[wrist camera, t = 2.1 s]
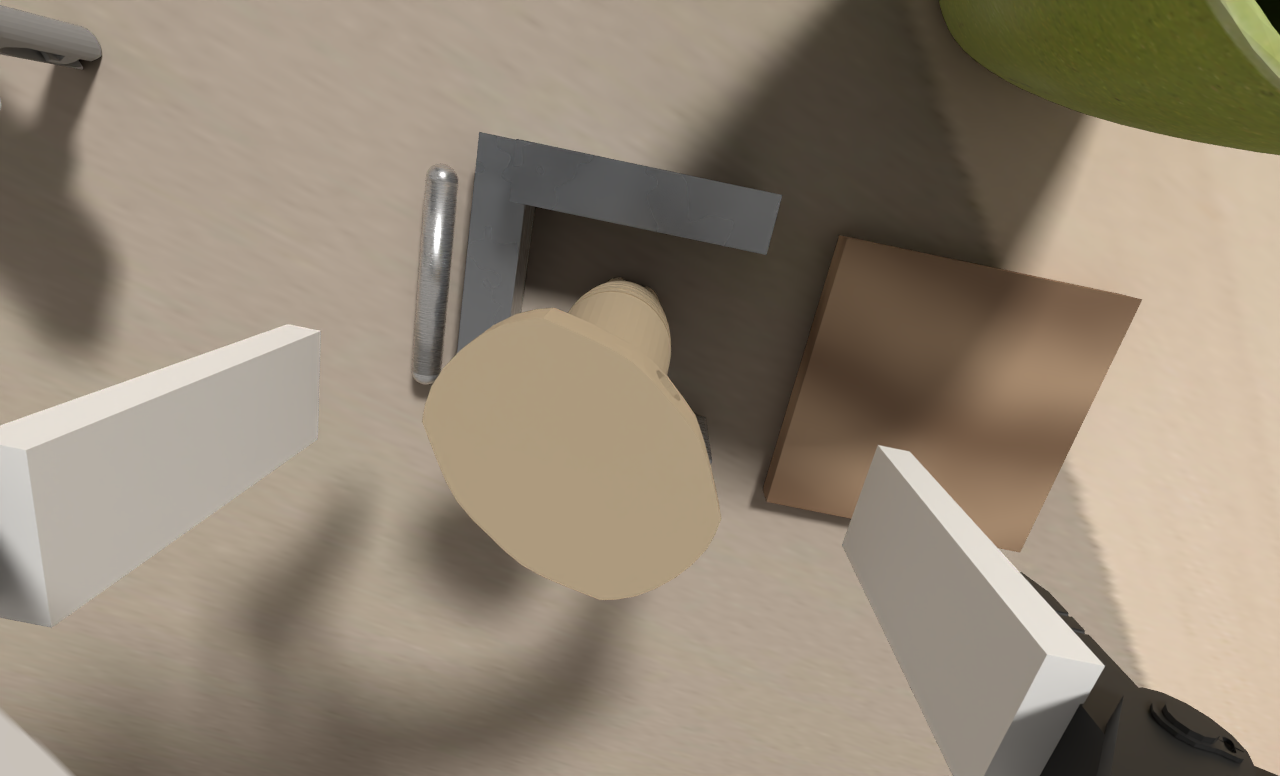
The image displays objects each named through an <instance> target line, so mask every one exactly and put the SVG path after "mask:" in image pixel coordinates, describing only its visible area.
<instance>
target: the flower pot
mask: <svg viewBox="0 0 1280 776" xmlns="http://www.w3.org/2000/svg"><path fill="white" fill-rule="evenodd" d="M939 3H940V7H941V11H942V14H943V17H944V19H945V22H946V24H947V27H948V29H949V31H950V32H951V34H952V36H953V37H954V39H955V40H956V41H957V43H958V44H959V45H960V46H961V47H962V49H963V50H964V51H965V52H966V53H967V54H968V55H970V56H971V57H972V58H973V59H974V60H975V61H977V62H978V63H979V64H981V65H982V66H984V67H985V68H987V69H988V70H990V71H991V72H993V73H994V74H996V75H997V76H999V77H1001V78H1002V79H1004V80H1006V81H1008V82H1010V83H1011V84H1013V85H1015V86H1017V87H1019V88H1021V89H1023V90H1026V91H1028V92H1030V93H1032V94H1035V95H1037V96H1039V97H1042V98H1044V99H1046V100H1048V101H1051V102H1054V103H1056V104H1059V105H1061V106H1064V107H1067V108H1069V109H1072V110H1075V111H1078V112H1081V113H1084V114H1087V115H1090V116H1093V117H1097V118H1100V119H1104V120H1107V121H1111V122H1114V123H1118V124H1121V125H1125V126H1129V127H1134V128H1138V129H1142V130H1146V131H1150V132H1154V133H1159V134H1163V135H1167V136H1172V137H1177V138H1182V139H1186V140H1191V141H1196V142H1202V143H1207V144H1213V145H1219V146H1224V147H1230V148H1236V149H1242V150H1248V151H1253V152H1260V153H1268V154H1275V155H1280V0H939Z"/></svg>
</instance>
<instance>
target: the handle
mask: <svg viewBox="0 0 1280 776" xmlns="http://www.w3.org/2000/svg"><path fill="white" fill-rule="evenodd" d="M670 358H671V336H670V330H669V325H668V322H667V318H666V315H665V313H664V310H663V308H662V306H661V304H660V303H659V299H658V296H657V294H656V293H655V292H654V291H653V290H652V289H651V288H650V287H642V286H640V285H639V284H636V283H633V282H628V281H624V280H623V278H620V277H619V278H613V279H610V280H609V281H608V282H607V283H604V284H601V285H599V286H597V287H595V288H593V289H591V290H590V291H589V292H587V293H586V294H584V295H583V296H582V297H581V298H580V299H579V300H578V301H577V302H576V303H575V304H574V305H573V306H572V308H571V309H570V311H569V312H568V313H566V312H563V311H561V310H558V309H556V308H546V309H535V310H531V311H527V312H523V313H518V314H515V315H513V316H511V317H509V318H507V319H505V320H503V321H501V322H499V323H497V324H495V325H493V326H492V327H490V328H489V329H488V330H486V331H485V332H484V333H482V334H481V335H479V336H478V337H477V338H475V339H474V340H473V341H471V342H470V343H469V344H467V345H466V346H465V347H464V348H463V349H461V350H460V351H459V352H458V353H457V354H456V355H455V356H454V357H453V358H452V360H451V361H450V362H449V363H448V364H447V365H446V366H445V367H444V368H443V369H442V371H441V373H440V374H439V376H438V377H437V379H436V380H435V382H434V383H433V385H432V386H431V389H430V392H429V395H428V398H427V401H426V403H425V408H424V414H423V419H422V422H423V425H424V428H425V430H426V433H427V436H428V438H429V441H430V443H431V446H432V449H433V451H434V454H435V456H436V459H437V461H438V464H439V466H440V469H441V471H442V473H443V476H444V478H445V481H446V483H447V484H448V486H449V488H450V490H451V492H452V493H453V495H454V497H455V499H456V501H457V502H458V503H459V504H460V506H461V507H462V508H463V509H464V510H465V512H466V513H467V514H468V515H469V516H470V517H471V519H472V520H473V521H474V522H475V523H476V524H477V525H478V526H479V527H481V528H482V529H483V530H484V531H485V532H486V533H487V534H488V535H489V536H490V537H491V538H492V539H493V540H494V541H495V542H496V543H497V544H498V545H499V546H500V547H501V548H502V549H503V550H504V551H505V552H506V553H507V554H509V555H510V556H511V557H512V558H514V559H515V560H516V561H517V562H519V563H520V564H521V565H522V566H524V567H526V568H528V569H529V570H531V571H533V572H535V573H537V574H539V575H540V576H542V577H544V578H547V579H549V580H551V581H554V582H556V583H559V584H561V585H563V586H566V587H568V588H571V589H573V590H576V591H578V592H581V593H583V594H586V595H588V596H591V597H593V598H596V599H598V600H615V599H623V598H628V597H634V596H638V595H640V594H643V593H646V592H648V591H651V590H654V589H656V588H658V587H660V586H661V585H663V584H665V583H667V582H669V581H670V580H672V579H674V578H676V577H677V576H678V575H679V574H681V573H682V572H683V571H685V570H686V569H687V568H688V567H690V566H691V565H692V564H693V563H694V562H695V561H696V560H697V559H698V558H699V557H700V556H701V555H702V554H703V552H704V551H705V550H706V549H707V548H708V546H709V544H710V542H711V541H712V539H713V537H714V535H715V533H716V531H717V528H718V526H719V523H720V521H721V514H720V507H719V502H718V497H717V492H716V487H715V483H714V478H713V474H712V470H711V465H710V461H709V457H708V453H707V450H706V446H705V442H704V439H703V436H702V433H701V430H700V427H699V424H698V421H697V418H696V416H695V414H694V413H693V411H692V410H691V408H690V407H689V405H688V404H687V402H686V401H685V399H684V398H683V396H682V395H681V394H680V393H679V391H678V390H677V388H676V387H675V386H674V384H673V383H672V382H671V380H670V379H669V377H668V376H667V373H668V368H669V364H670Z"/></svg>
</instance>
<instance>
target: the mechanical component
mask: <svg viewBox="0 0 1280 776" xmlns="http://www.w3.org/2000/svg"><path fill="white" fill-rule="evenodd" d="M0 54H2V55H7V56H13V57H18V58H23V59H28V60H34V61H39V62H44V63H50V64H55V65H60V66H65V67H71V68H76V69H81V70H83V67H82V65H81V64H80V62H79V61H78V60H79V59H83V60H87V61H93V60H96V59H98V58H99V57H101V48H100V45H99V42H98V41H97V39H96V37H95V36H94V35H93V34H92V33H91V32H90V31H89V30H88V29H86V28H84V27H82V26H78V25H74V24H70V23H66V22H62V21H59V20H55V19H51V18H47V17H43V16H40V15H36V14H32V13H28V12H24V11H21V10H17V9H13V8H9V7H5V6H2V5H0ZM0 110H1V99H0Z"/></svg>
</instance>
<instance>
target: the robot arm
mask: <svg viewBox="0 0 1280 776" xmlns="http://www.w3.org/2000/svg"><path fill="white" fill-rule="evenodd" d="M320 343H321V331H319V330H314V329H309V328H304V327H299V326H294V325H289V324H287V325H284V326H281V327H278V328H275V329H273V330H270V331H267V332H264V333H261V334H258V335H256V336H253V337H250V338H247V339H244V340H241V341H239V342H236V343H233V344H230V345H227V346H224V347H221V348H219V349H216V350H213V351H210V352H207V353H204V354H202V355H199V356H196V357H193V358H190V359H187V360H185V361H182V362H179V363H176V364H173V365H170V366H168V367H165V368H162V369H159V370H156V371H153V372H150V373H148V374H145V375H142V376H139V377H136V378H133V379H131V380H128V381H125V382H122V383H119V384H116V385H114V386H111V387H108V388H105V389H102V390H99V391H96V392H94V393H91V394H88V395H85V396H82V397H79V398H77V399H74V400H71V401H68V402H65V403H62V404H60V405H57V406H54V407H51V408H48V409H45V410H43V411H40V412H37V413H34V414H31V415H28V416H25V417H23V418H20V419H17V420H14V421H11V422H8V423H6V424H3V425H0V618H5V619H10V620H15V621H20V622H26V623H31V624H36V625H41V626H46V627H51V628H52V627H53V626H55V625H56V624H57V623H59V622H60V621H62V620H63V619H64V618H66V617H67V616H69V615H70V614H72V613H73V612H74V611H76V610H77V609H79V608H80V607H81V606H83V605H84V604H86V603H87V602H88V601H90V600H91V599H93V598H94V597H96V596H97V595H98V594H100V593H101V592H103V591H104V590H105V589H107V588H108V587H110V586H111V585H112V584H114V583H115V582H117V581H118V580H120V579H121V578H122V577H124V576H125V575H127V574H128V573H129V572H131V571H132V570H134V569H135V568H137V567H138V566H139V565H141V564H142V563H144V562H145V561H146V560H148V559H149V558H151V557H152V556H153V555H155V554H156V553H158V552H159V551H161V550H162V549H163V548H165V547H166V546H168V545H169V544H170V543H172V542H173V541H175V540H176V539H178V538H179V537H180V536H182V535H183V534H185V533H186V532H187V531H189V530H190V529H192V528H193V527H194V526H196V525H197V524H199V523H200V522H202V521H203V520H204V519H206V518H207V517H209V516H210V515H211V514H213V513H214V512H216V511H217V510H218V509H220V508H221V507H223V506H224V505H226V504H227V503H228V502H230V501H231V500H233V499H234V498H235V497H237V496H238V495H240V494H241V493H243V492H244V491H245V490H247V489H248V488H250V487H251V486H252V485H254V484H255V483H257V482H258V481H259V480H261V479H262V478H264V477H265V476H267V475H268V474H269V473H271V472H272V471H274V470H275V469H276V468H278V467H279V466H281V465H282V464H283V463H285V462H286V461H288V460H289V459H291V458H292V457H293V456H295V455H296V454H298V453H299V452H300V451H302V450H303V449H305V448H306V447H308V446H309V445H310V444H312V443H313V442H315V441H316V440H317V439H318V415H319V379H320ZM842 546H843V548H844V550H845V552H846V554H847V557H848V559H849V561H850V563H851V565H852V567H853V569H854V571H855V573H856V575H857V577H858V579H859V581H860V584H861V586H862V588H863V590H864V592H865V594H866V596H867V598H868V600H869V602H870V604H871V606H872V609H873V611H874V613H875V615H876V617H877V619H878V621H879V623H880V625H881V627H882V629H883V631H884V634H885V636H886V638H887V640H888V642H889V644H890V646H891V648H892V650H893V652H894V654H895V656H896V659H897V661H898V663H899V665H900V667H901V669H902V671H903V673H904V675H905V677H906V679H907V681H908V683H909V686H910V688H911V690H912V692H913V694H914V696H915V698H916V700H917V702H918V704H919V706H920V708H921V711H922V713H923V715H924V717H925V719H926V721H927V723H928V725H929V727H930V729H931V731H932V733H933V736H934V738H935V740H936V742H937V744H938V746H939V748H940V750H941V752H942V754H943V756H944V758H945V761H946V763H947V765H948V767H949V769H950V771H951V773H952V775H953V776H1278V775H1275V774H1273V773H1270V772H1268V771H1265V770H1263V769H1261V768H1258V767H1256V766H1254V764H1253V762H1252V760H1251V758H1250V756H1249V754H1248V752H1247V751H1246V750H1245V749H1244V748H1243V747H1242V746H1241V745H1240V743H1239V742H1238V741H1237V740H1236V739H1235V738H1234V737H1233V736H1232V735H1231V734H1230V733H1228V732H1227V731H1226V730H1225V729H1223V728H1222V727H1221V726H1220V725H1218V724H1217V723H1216V722H1214V721H1213V720H1212V719H1211V718H1209V717H1208V716H1206V715H1204V714H1203V713H1201V712H1199V711H1198V710H1196V709H1194V708H1193V707H1191V706H1190V705H1188V704H1186V703H1184V702H1182V701H1180V700H1178V699H1175V698H1173V697H1171V696H1169V695H1167V694H1164V693H1162V692H1158V691H1154V690H1151V689H1147V688H1138V687H1137V686H1136V685H1135V684H1134V682H1133V681H1132V680H1131V679H1130V678H1129V677H1128V676H1127V675H1126V674H1125V673H1124V672H1123V671H1122V670H1121V669H1120V668H1119V666H1118V665H1117V664H1116V663H1115V662H1114V661H1113V660H1112V659H1111V658H1110V657H1109V656H1108V655H1107V654H1106V653H1105V652H1104V650H1103V649H1102V648H1101V647H1100V646H1099V645H1098V644H1097V643H1096V642H1095V641H1094V640H1093V639H1092V638H1091V637H1090V636H1089V635H1087V634H1085V633H1084V631H1085V630H1084V629H1083V628H1082V627H1081V626H1080V625H1079V624H1078V623H1077V622H1076V621H1075V620H1074V618H1073V617H1069V616H1068V612H1067V611H1066V610H1065V609H1064V608H1063V607H1062V606H1061V605H1060V604H1059V602H1058V601H1057V600H1056V599H1055V598H1054V597H1053V596H1052V595H1051V594H1050V593H1049V592H1048V591H1047V590H1045V589H1044V588H1042V587H1041V586H1040V585H1038V584H1037V583H1036V582H1034V581H1033V580H1031V579H1030V578H1029V577H1027V576H1026V575H1025V574H1023V573H1022V572H1019V571H1018V570H1017V569H1016V568H1015V567H1014V566H1013V564H1012V563H1011V562H1010V561H1009V560H1008V559H1007V558H1006V557H1005V556H1004V555H1003V553H1002V552H1001V551H1000V550H999V549H998V548H997V547H996V546H995V545H994V544H993V542H992V541H991V540H990V539H989V538H988V537H987V536H986V535H985V534H984V533H983V531H982V530H981V529H980V528H979V527H978V526H977V525H976V524H975V523H974V522H973V520H972V519H971V518H970V517H969V516H968V515H967V514H966V513H965V512H964V511H963V509H962V508H961V507H960V506H959V505H958V504H957V503H956V502H955V501H954V500H953V498H952V497H951V496H950V495H949V494H948V493H947V492H946V491H945V490H944V489H943V488H942V486H941V485H940V484H939V483H938V482H937V481H936V480H935V479H934V478H933V477H932V475H931V474H930V473H929V472H928V471H927V470H926V469H925V468H924V467H923V466H922V464H921V463H920V462H919V461H918V460H917V459H916V458H915V457H914V456H913V455H912V453H911V452H910V451H905V450H900V449H895V448H890V447H885V446H880V445H878V446H877V449H876V451H875V454H874V457H873V460H872V463H871V465H870V468H869V471H868V474H867V477H866V479H865V482H864V485H863V488H862V491H861V493H860V496H859V499H858V502H857V505H856V507H855V510H854V513H853V516H852V519H851V521H850V524H849V527H848V530H847V533H846V535H845V538H844V541H843V544H842Z"/></svg>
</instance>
